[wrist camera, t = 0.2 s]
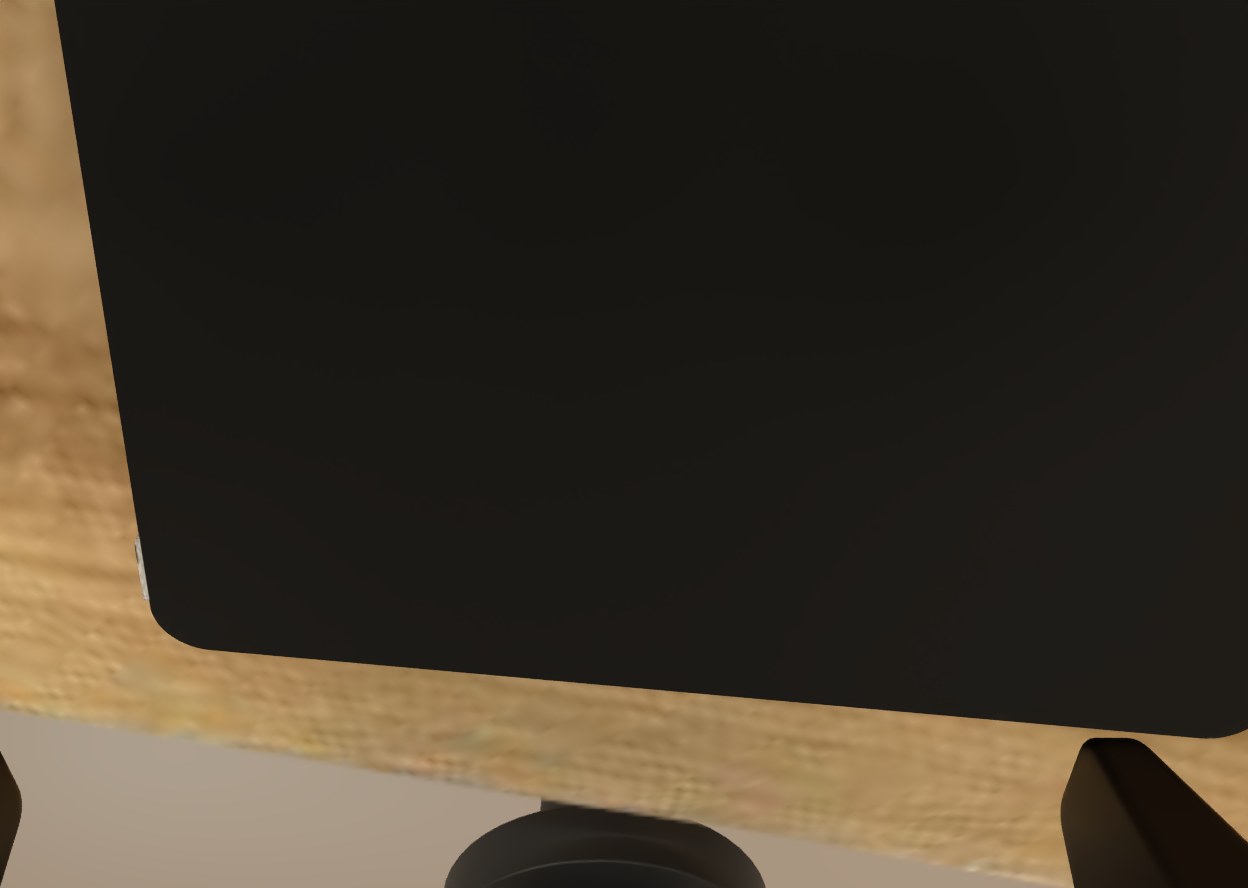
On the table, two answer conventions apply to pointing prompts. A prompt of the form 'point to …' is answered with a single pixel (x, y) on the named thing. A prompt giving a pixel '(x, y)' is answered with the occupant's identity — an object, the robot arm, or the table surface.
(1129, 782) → the robot arm
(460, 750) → the table surface
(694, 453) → the tablet
